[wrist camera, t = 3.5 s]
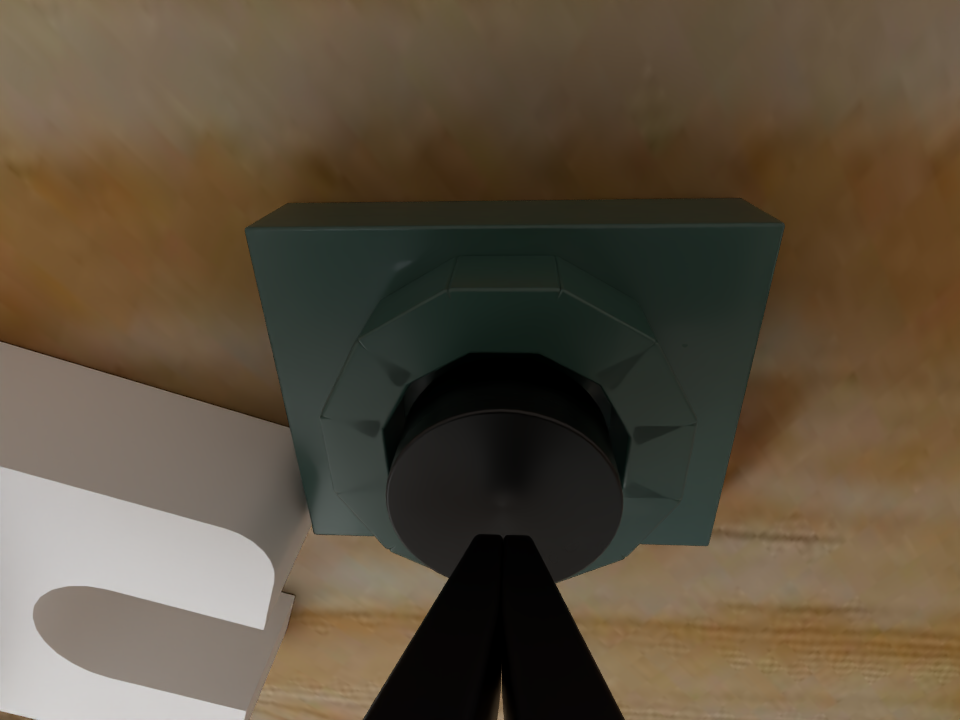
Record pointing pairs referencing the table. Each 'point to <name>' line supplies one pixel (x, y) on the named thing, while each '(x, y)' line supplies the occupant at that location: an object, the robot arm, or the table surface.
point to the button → (505, 467)
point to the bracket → (138, 547)
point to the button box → (518, 336)
